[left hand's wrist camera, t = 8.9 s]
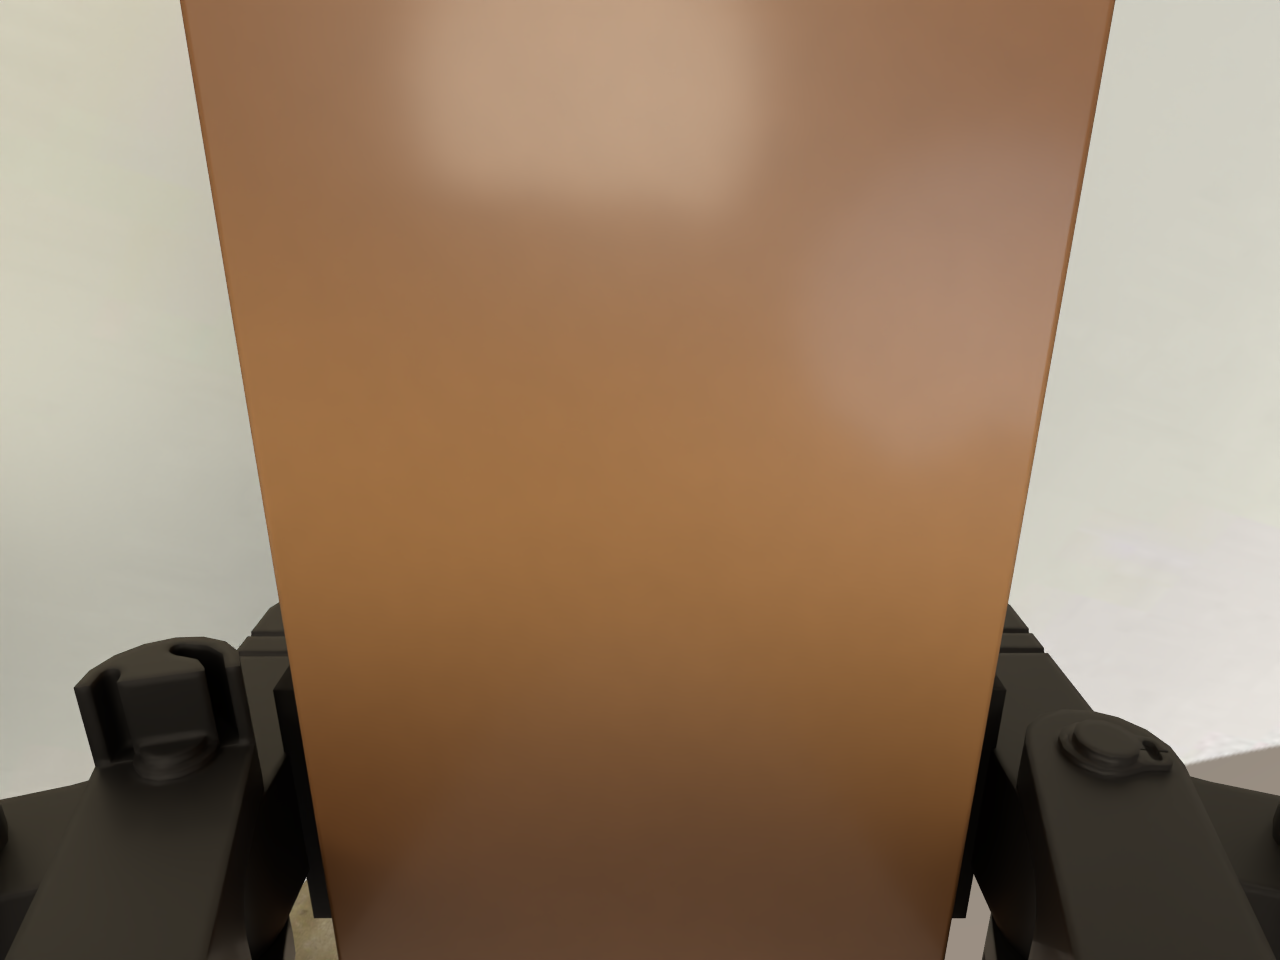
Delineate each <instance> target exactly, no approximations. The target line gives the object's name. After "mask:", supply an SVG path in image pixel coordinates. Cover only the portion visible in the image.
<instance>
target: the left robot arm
mask: <svg viewBox="0 0 1280 960" xmlns="http://www.w3.org/2000/svg"><path fill="white" fill-rule="evenodd" d="M74 691H75V695H76V698H77V702H78V705H79V709H80V713H81V716H82V720H83V723H84V727H85V731H86V734H87V738H88V741H89V745H90V749H91V752H92V756H93V759H94V763H95V769H94V771H93V773H92V775H91V777H90V779H89V781H85V782H82V783H78V784H74V785H70V786H66V787H61V788H56V789H51V790H46V791H41V792H36V793H32V794H27V795H22V796H17V797H12V798H7V799H2V800H0V960H295V955H296V951H295V944H294V937H293V931H292V926H291V921H290V916H289V914H290V912H291V910H292V908H293V905H294V903H295V901H296V899H297V897H298V894H299V892H300V890H301V888H302V885H303V883H304V881H305V879H306V877H307V883H308V888H309V894H310V899H311V905H312V911H313V916H314V918H332V917H331V911H330V905H329V899H328V893H327V887H326V881H325V874H324V868H323V862H322V856H321V850H320V844H319V838H318V832H317V826H316V820H315V814H314V808H313V802H312V796H311V790H310V784H309V778H308V772H307V766H306V760H305V754H304V748H303V741H302V735H301V729H300V723H299V717H298V711H297V705H296V699H295V693H294V687H293V681H292V675H291V669H290V663H289V657H288V651H287V645H286V639H285V633H284V627H283V621H282V615H281V609H280V602H279V603H277V604H276V605H274V606H273V607H271V608H270V609H269V610H268V611H267V612H266V614H265V615H264V616H263V618H262V619H261V620H260V621H259V623H258V624H257V625H256V626H255V628H254V629H253V630H252V632H251V636H248V637H247V638H246V639H245V641H244V642H243V643H242V644H241V646H240V647H239V648H238V650H236V649H235V648H233V647H232V646H231V645H229V644H228V643H227V642H225V641H221V640H216V639H212V638H207V637H179V638H171V639H166V640H162V641H157V642H152V643H147V644H143V645H141V646H138V647H135V648H133V649H130V650H128V651H125V652H122V653H120V654H117V655H114V656H113V657H111V658H109V659H108V660H106V661H105V662H103V663H101V664H100V665H98V666H96V667H95V668H93V669H91V670H90V671H89V672H88V673H87V674H86V675H85V676H84V677H83V678H82V679H81V680H80V681H79V683H78V684H77V685H76V686H75V687H74ZM973 874H974V875H975V878H976V880H977V882H978V884H979V887H980V889H981V891H982V893H983V895H984V898H985V900H986V902H987V904H988V906H989V909H990V911H991V916H990V921H989V926H988V931H987V936H986V941H985V947H984V952H983V957H982V960H1280V796H1278V795H1273V794H1268V793H1263V792H1258V791H1253V790H1248V789H1243V788H1238V787H1233V786H1229V785H1224V784H1219V783H1214V782H1209V781H1205V780H1202V779H1198V778H1194V777H1190V775H1189V773H1188V771H1187V769H1186V767H1185V765H1184V764H1183V762H1182V761H1181V760H1180V759H1179V757H1178V756H1177V755H1176V753H1175V752H1174V751H1173V750H1172V748H1171V747H1170V746H1169V745H1167V744H1166V743H1164V742H1163V741H1162V740H1160V739H1159V738H1157V737H1156V736H1155V735H1153V734H1152V733H1150V732H1149V731H1148V730H1146V729H1143V728H1141V727H1139V726H1137V725H1134V724H1132V723H1130V722H1128V721H1125V720H1123V719H1121V718H1119V717H1115V716H1111V715H1106V714H1102V713H1098V712H1094V711H1093V710H1092V709H1091V707H1090V706H1089V705H1088V703H1087V702H1086V701H1085V700H1084V698H1083V697H1082V696H1081V695H1080V693H1079V692H1078V691H1077V689H1076V688H1075V687H1074V686H1073V684H1072V683H1071V682H1070V681H1069V679H1068V678H1067V677H1066V676H1065V674H1064V673H1063V672H1062V670H1061V669H1060V668H1059V667H1058V665H1057V664H1056V663H1055V662H1054V660H1053V659H1052V658H1051V656H1050V655H1049V654H1048V653H1044V648H1043V646H1042V645H1041V644H1040V642H1039V641H1038V640H1037V639H1036V637H1035V636H1034V635H1033V634H1032V633H1029V629H1028V627H1027V626H1026V625H1025V623H1024V622H1023V621H1022V620H1021V618H1020V617H1019V616H1018V615H1017V613H1016V612H1015V611H1014V609H1013V608H1012V607H1011V606H1010V605H1009V604H1008V605H1007V611H1006V616H1005V622H1004V628H1003V633H1002V639H1001V645H1000V650H999V656H998V661H997V667H996V673H995V678H994V684H993V689H992V695H991V701H990V706H989V712H988V718H987V723H986V729H985V734H984V740H983V746H982V751H981V757H980V763H979V768H978V774H977V779H976V785H975V791H974V796H973V802H972V807H971V813H970V819H969V824H968V830H967V836H966V841H965V847H964V852H963V858H962V864H961V869H960V875H959V880H958V886H957V892H956V897H955V903H954V909H953V914H952V918H966V913H967V907H968V902H969V896H970V891H971V885H972V880H973Z"/></svg>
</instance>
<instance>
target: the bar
mask: <svg viewBox="0 0 1280 960" xmlns="http://www.w3.org/2000/svg"><path fill="white" fill-rule="evenodd" d="M180 4H181V10H182V16H183V22H184V28H185V34H186V40H187V46H188V52H189V58H190V64H191V70H192V77H193V83H194V89H195V95H196V101H197V107H198V113H199V119H200V125H201V131H202V137H203V143H204V149H205V155H206V161H207V167H208V173H209V179H210V185H211V191H212V197H213V203H214V210H215V216H216V222H217V228H218V234H219V240H220V246H221V252H222V258H223V264H224V270H225V276H226V282H227V288H228V294H229V300H230V306H231V312H232V318H233V324H234V330H235V336H236V343H237V349H238V355H239V361H240V367H241V373H242V379H243V385H244V391H245V397H246V403H247V409H248V415H249V421H250V427H251V433H252V439H253V445H254V451H255V457H256V463H257V469H258V476H259V482H260V488H261V494H262V500H263V506H264V512H265V518H266V524H267V530H268V536H269V542H270V548H271V554H272V560H273V566H274V572H275V578H276V584H277V590H278V596H279V602H280V609H281V615H282V621H283V627H284V633H285V639H286V645H287V651H288V657H289V663H290V669H291V675H292V681H293V687H294V693H295V699H296V705H297V711H298V717H299V723H300V729H301V735H302V741H303V748H304V754H305V760H306V766H307V772H308V778H309V784H310V790H311V796H312V802H313V808H314V814H315V820H316V826H317V832H318V838H319V844H320V850H321V856H322V862H323V868H324V874H325V881H326V887H327V893H328V899H329V905H330V911H331V917H332V923H333V929H334V935H335V941H336V947H337V953H338V959H339V960H944V959H945V953H946V948H947V942H948V937H949V931H950V925H951V920H952V914H953V909H954V903H955V897H956V892H957V886H958V880H959V875H960V869H961V864H962V858H963V852H964V847H965V841H966V836H967V830H968V824H969V819H970V813H971V807H972V802H973V796H974V791H975V785H976V779H977V774H978V768H979V763H980V757H981V751H982V746H983V740H984V734H985V729H986V723H987V718H988V712H989V706H990V701H991V695H992V689H993V684H994V678H995V673H996V667H997V661H998V656H999V650H1000V645H1001V639H1002V633H1003V628H1004V622H1005V616H1006V611H1007V605H1008V600H1009V594H1010V588H1011V583H1012V577H1013V572H1014V566H1015V560H1016V555H1017V549H1018V543H1019V538H1020V532H1021V527H1022V521H1023V515H1024V510H1025V504H1026V499H1027V493H1028V487H1029V482H1030V476H1031V470H1032V465H1033V459H1034V454H1035V448H1036V442H1037V437H1038V431H1039V426H1040V420H1041V414H1042V409H1043V403H1044V397H1045V392H1046V386H1047V381H1048V375H1049V369H1050V364H1051V358H1052V353H1053V347H1054V341H1055V336H1056V330H1057V324H1058V319H1059V313H1060V308H1061V302H1062V296H1063V291H1064V285H1065V279H1066V274H1067V268H1068V263H1069V257H1070V251H1071V246H1072V240H1073V235H1074V229H1075V223H1076V218H1077V212H1078V206H1079V201H1080V195H1081V190H1082V184H1083V178H1084V173H1085V167H1086V162H1087V156H1088V150H1089V145H1090V139H1091V133H1092V128H1093V122H1094V117H1095V111H1096V105H1097V100H1098V94H1099V89H1100V83H1101V77H1102V72H1103V66H1104V60H1105V55H1106V49H1107V44H1108V38H1109V32H1110V27H1111V21H1112V16H1113V10H1114V4H1115V0H180Z"/></svg>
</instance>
